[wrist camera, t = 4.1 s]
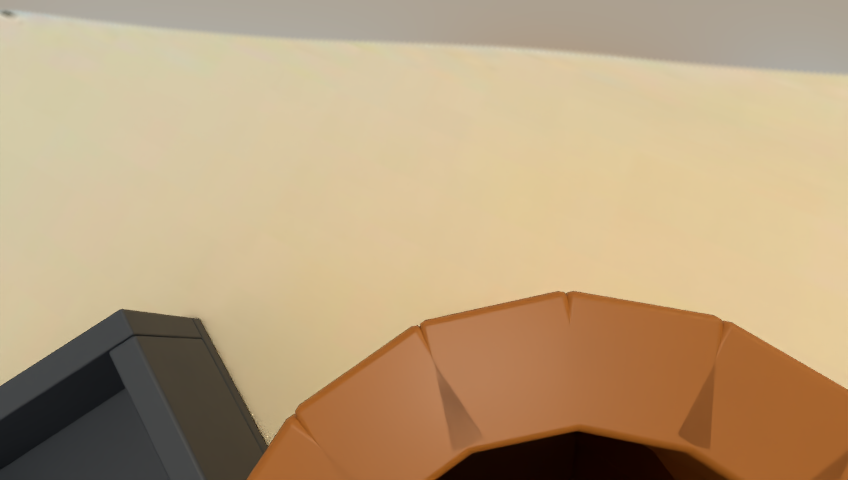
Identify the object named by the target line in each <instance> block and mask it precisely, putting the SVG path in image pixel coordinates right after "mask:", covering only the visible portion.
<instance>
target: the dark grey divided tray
mask: <svg viewBox="0 0 848 480" xmlns="http://www.w3.org/2000/svg"><path fill="white" fill-rule="evenodd" d="M267 448H268V447H267V445H266V443H265V442H264V440H263V438H262V436H261V434H260V432H259V430H258V428H257V427H256V425H255V423H254V421H253V419H252V417H251V415H250V413H249V412H248V410H247V408H246V406H245V404H244V402H243V400H242V398H241V397H240V395H239V393H238V391H237V389H236V387H235V385H234V383H233V382H232V380H231V378H230V376H229V374H228V372H227V370H226V368H225V367H224V365H223V363H222V361H221V359H220V357H219V355H218V353H217V352H216V350H215V348H214V346H213V344H212V342H211V340H210V338H209V336H208V335H207V333H206V331H205V329H204V327H203V325H202V323H201V321H200V320H199V319H195V318H187V317H179V316H172V315H164V314H156V313H148V312H140V311H133V310H125V309H120V310H118V311H117V312H115V313H114V314H112V315H111V316H109V317H108V318H106V319H104V320H103V321H101V322H100V323H98V324H97V325H95V326H93V327H92V328H90V329H89V330H87V331H86V332H84V333H83V334H81V335H79V336H78V337H76V338H75V339H73V340H72V341H70V342H68V343H67V344H65V345H64V346H62V347H61V348H59V349H58V350H56V351H54V352H53V353H51V354H50V355H48V356H47V357H45V358H43V359H42V360H40V361H39V362H37V363H36V364H34V365H33V366H31V367H29V368H28V369H26V370H25V371H23V372H22V373H20V374H18V375H17V376H15V377H14V378H12V379H11V380H9V381H8V382H6V383H4V384H3V385H1V386H0V480H246V479H247V478H248V476H249V475H250V473H251V472H252V470H253V469H254V467H255V466H256V464H257V463H258V461H259V460H260V458H261V457H262V455H263V454H264V452H265V451H266V449H267Z"/></svg>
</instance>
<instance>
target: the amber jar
mask: <svg viewBox="0 0 848 480" xmlns="http://www.w3.org/2000/svg"><path fill="white" fill-rule="evenodd" d="M295 413H296V414H293V415H292V416H291V417H289V418H288V419H286V421H285V422H284V424H283V425H282V427H281V428H280V430H279V431H278V433H277V434H276V436H275V437H274V439H273V440H272V442H271V443H270V445H269V446H268V448H267V449H266V451H265V452H264V454H263V455H262V457H261V458H260V460H259V461H258V463H257V464H256V466H255V467H254V469H253V470H252V472H251V473H250V475H249V476H248V478H247V479H246V480H848V390H847V389H846V388H844V387H842V386H841V385H839V384H837V383H835V382H834V381H832V380H830V379H828V378H827V377H825V376H823V375H822V374H820V373H818V372H816V371H815V370H813V369H811V368H810V367H808V366H806V365H804V364H803V363H801V362H799V361H797V360H796V359H794V358H792V357H791V356H789V355H787V354H785V353H784V352H782V351H780V350H778V349H777V348H775V347H773V346H772V345H770V344H768V343H766V342H765V341H763V340H761V339H759V338H758V337H756V336H754V335H753V334H751V333H749V332H747V331H746V330H744V329H742V328H740V327H739V326H737V325H735V324H734V323H732V322H727V321H722V320H721V319H719V318H718V317H716V316H714V315H709V314H704V313H698V312H692V311H686V310H680V309H675V308H669V307H663V306H657V305H651V304H646V303H640V302H634V301H628V300H622V299H617V298H611V297H605V296H599V295H593V294H588V293H582V292H576V291H572V292H568V293H566V294H565V293H564V292H560V291H557V292H552V293H547V294H543V295H538V296H534V297H529V298H525V299H520V300H515V301H511V302H506V303H502V304H497V305H493V306H488V307H483V308H479V309H474V310H470V311H465V312H461V313H456V314H451V315H447V316H442V317H438V318H433V319H429V320H425V321H424V322H422V323H421V324H420V327H419V326H418V325H417V326H412V327H410V328H409V329H407V330H406V331H404V332H403V333H401V334H400V335H399V336H397V337H396V338H394V339H393V340H391V341H390V342H389V343H387V344H386V345H384V346H383V347H381V348H380V349H379V350H377V351H376V352H374V353H373V354H371V355H370V356H369V357H367V358H366V359H364V360H363V361H361V362H360V363H359V364H357V365H356V366H354V367H353V368H351V369H350V370H349V371H347V372H346V373H344V374H343V375H341V376H340V377H338V378H337V379H336V380H334V381H333V382H331V383H330V384H328V385H327V386H326V387H324V388H323V389H321V390H320V391H318V392H317V393H316V394H314V395H313V396H311V397H310V398H308V399H307V400H306V401H304V402H303V403H301V404H300V405H299V406H298V408H297V409H296V411H295Z"/></svg>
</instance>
